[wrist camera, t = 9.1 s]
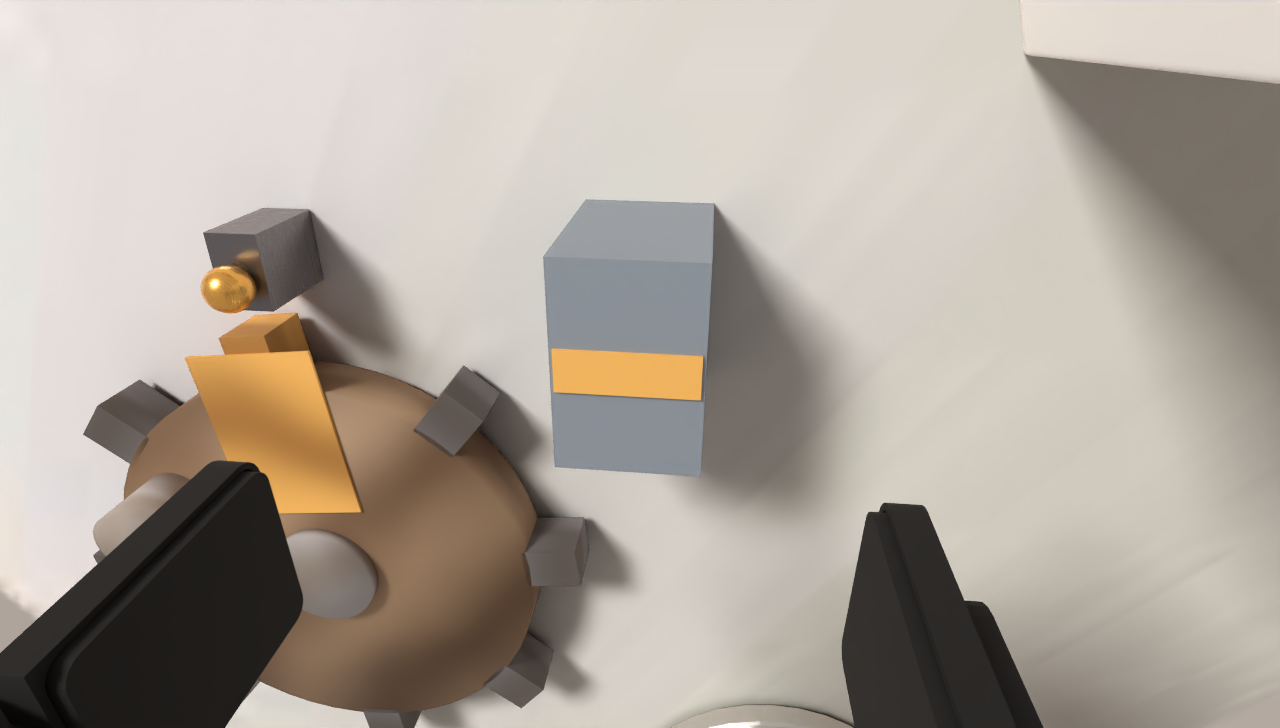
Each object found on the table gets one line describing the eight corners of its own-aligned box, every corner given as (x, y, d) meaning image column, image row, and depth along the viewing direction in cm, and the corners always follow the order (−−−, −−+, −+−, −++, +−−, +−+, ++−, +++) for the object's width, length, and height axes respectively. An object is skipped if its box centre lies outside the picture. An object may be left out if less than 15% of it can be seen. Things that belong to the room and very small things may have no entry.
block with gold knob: (323, 278, 24) (248, 328, 20) (278, 277, 24) (195, 325, 20) (309, 209, 23) (226, 247, 19) (263, 207, 23) (171, 245, 19)
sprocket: (690, 532, 27) (685, 622, 23) (428, 758, 35) (390, 855, 31) (235, 197, 23) (132, 236, 19) (55, 539, 31) (-46, 617, 27)
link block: (704, 376, 24) (700, 478, 19) (590, 369, 25) (554, 469, 19) (714, 203, 22) (712, 264, 16) (586, 199, 22) (542, 258, 17)
